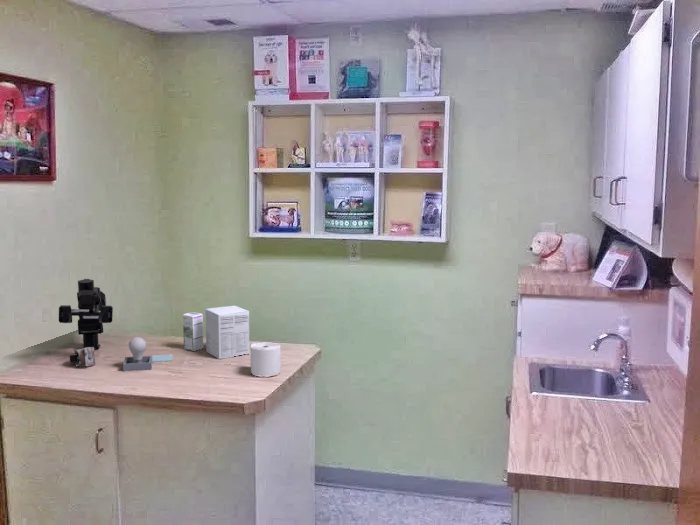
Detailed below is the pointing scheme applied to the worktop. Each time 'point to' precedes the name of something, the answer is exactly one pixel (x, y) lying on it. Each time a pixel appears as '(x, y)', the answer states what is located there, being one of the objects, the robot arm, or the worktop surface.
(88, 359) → the caster wheel
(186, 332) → the syrup box
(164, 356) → the coaster
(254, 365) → the toilet tissue
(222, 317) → the supplement box
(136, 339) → the lightbulb
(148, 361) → the grey square frame
